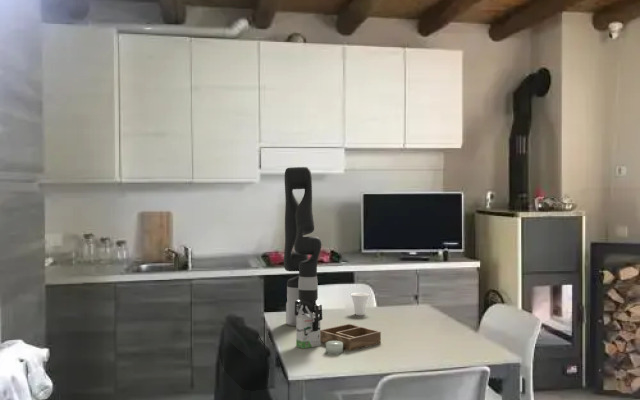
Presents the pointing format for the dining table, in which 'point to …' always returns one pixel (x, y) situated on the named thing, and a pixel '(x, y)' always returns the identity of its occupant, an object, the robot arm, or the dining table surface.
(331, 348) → the white domed round part
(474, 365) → the dining table surface
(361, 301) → the cup
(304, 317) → the ink box
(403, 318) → the dining table surface
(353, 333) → the organizer
